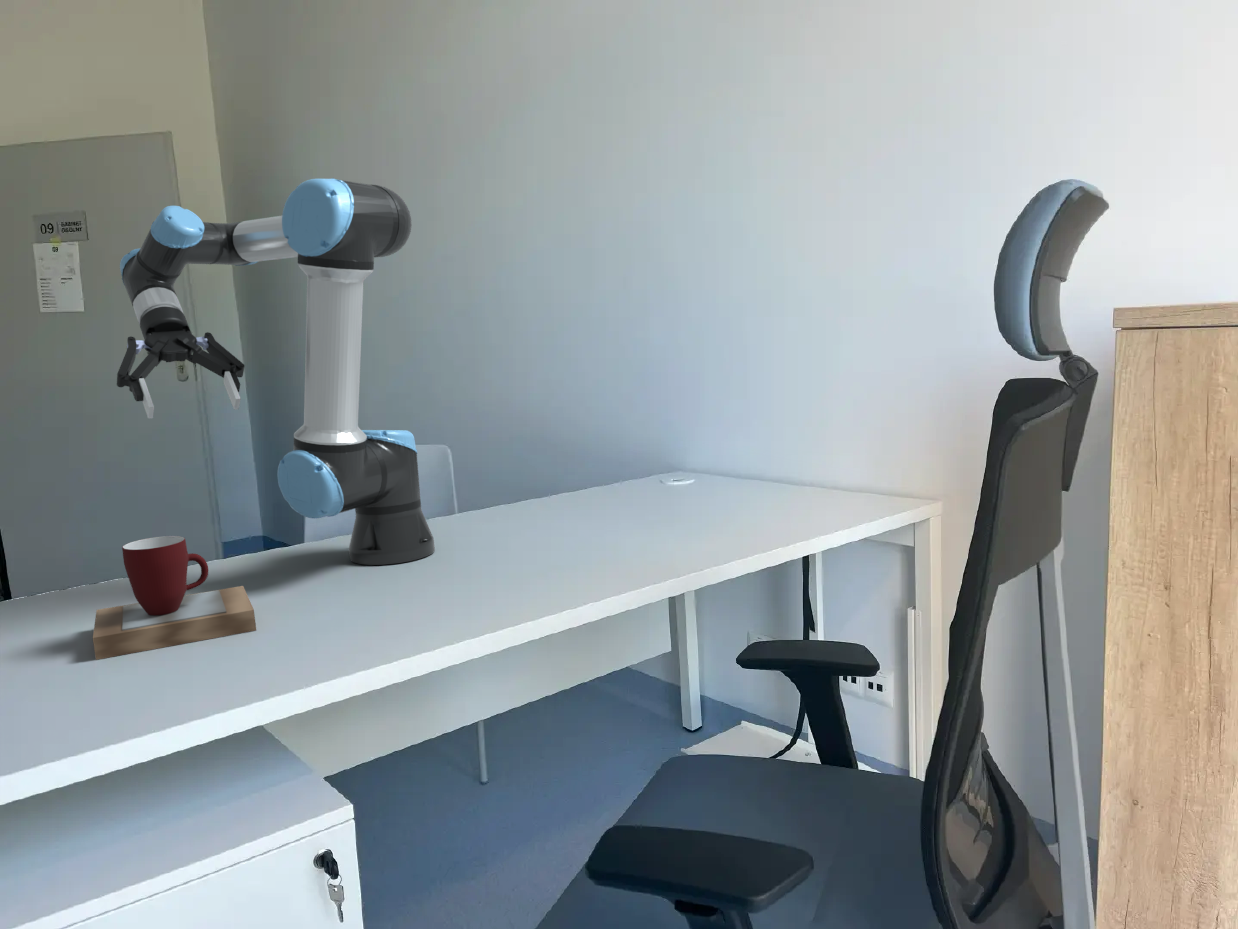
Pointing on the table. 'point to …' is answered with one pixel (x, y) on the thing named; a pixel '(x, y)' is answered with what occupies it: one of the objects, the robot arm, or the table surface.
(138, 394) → the robot arm
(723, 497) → the table surface
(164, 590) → the mug
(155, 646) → the plinth
